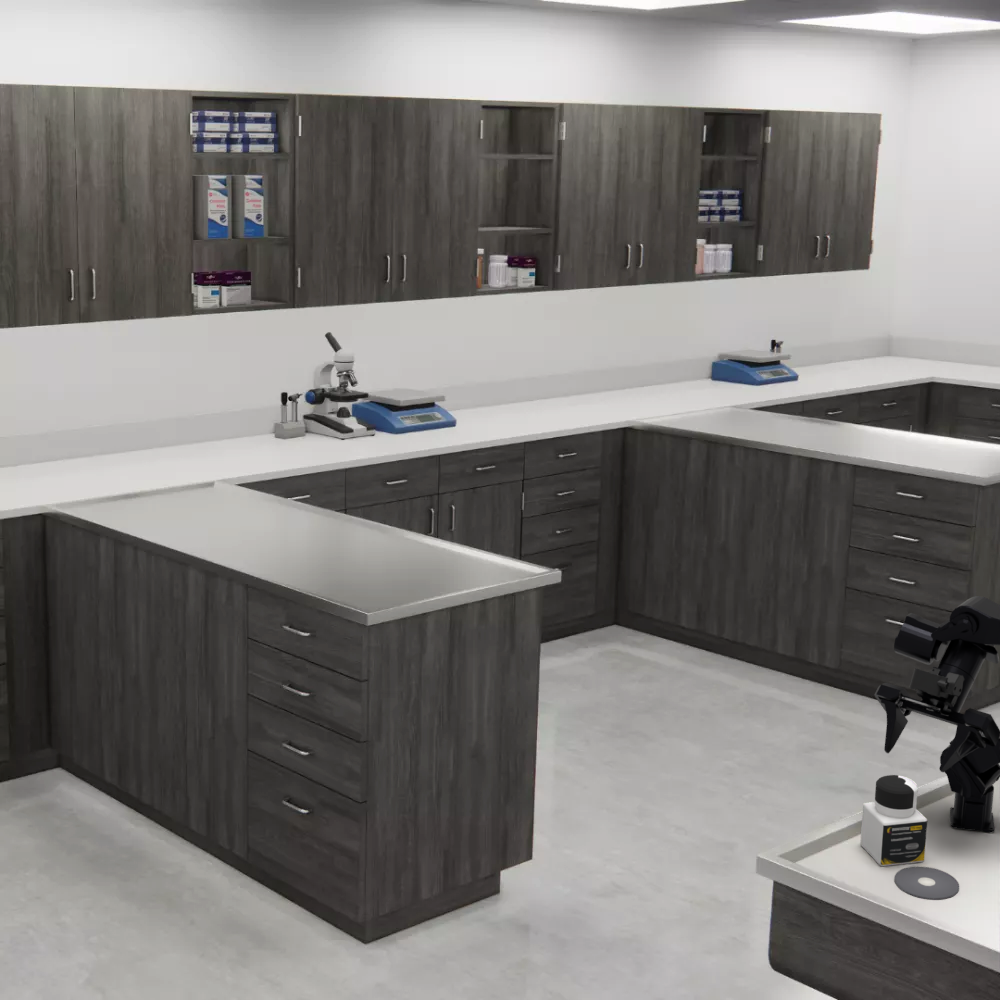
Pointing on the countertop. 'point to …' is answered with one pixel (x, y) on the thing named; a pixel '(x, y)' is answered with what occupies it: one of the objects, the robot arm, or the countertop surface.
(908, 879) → the pad
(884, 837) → the medicine bottle
